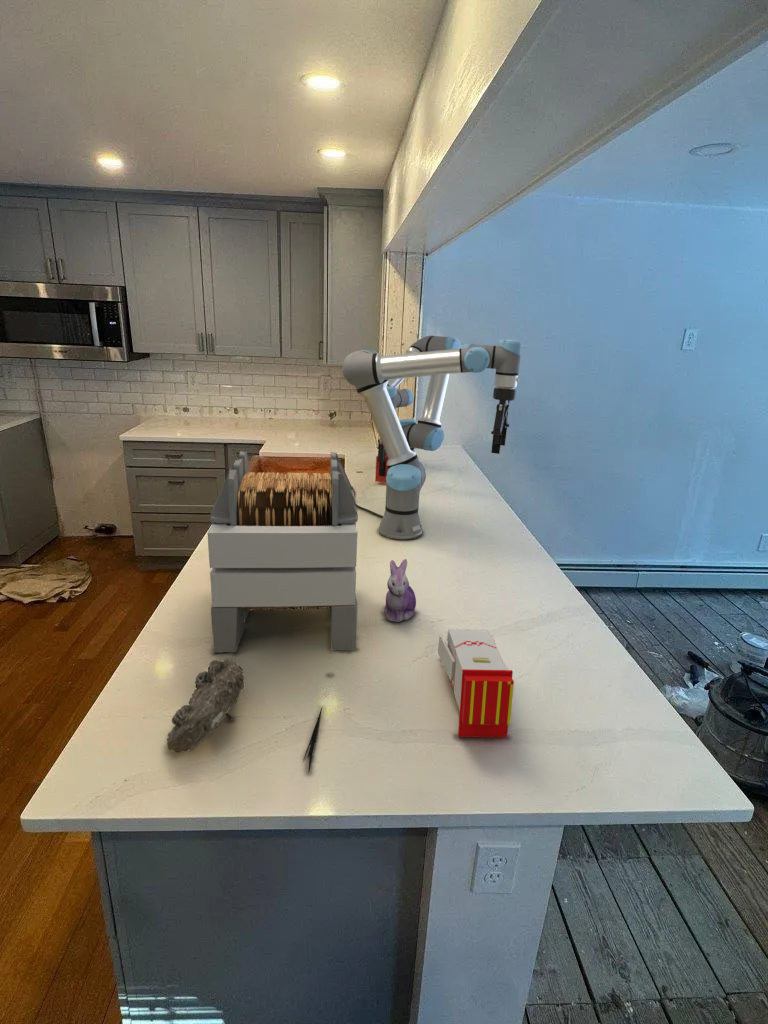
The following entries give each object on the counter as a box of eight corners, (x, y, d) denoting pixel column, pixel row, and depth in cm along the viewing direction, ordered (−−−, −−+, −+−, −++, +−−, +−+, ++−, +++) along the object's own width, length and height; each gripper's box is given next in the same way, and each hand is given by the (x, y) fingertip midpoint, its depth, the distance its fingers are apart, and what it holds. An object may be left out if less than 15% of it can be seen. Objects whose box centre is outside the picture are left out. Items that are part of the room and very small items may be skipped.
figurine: (392, 627, 141) (395, 572, 136) (374, 608, 149) (376, 556, 144) (425, 619, 145) (429, 566, 140) (405, 601, 154) (408, 550, 149)
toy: (488, 613, 130) (523, 677, 101) (484, 667, 133) (517, 744, 104) (435, 612, 130) (455, 676, 101) (432, 666, 133) (451, 743, 103)
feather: (331, 679, 122) (336, 673, 122) (307, 777, 96) (313, 769, 95) (324, 675, 122) (329, 669, 121) (298, 772, 95) (304, 764, 95)
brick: (389, 483, 252) (390, 458, 249) (375, 481, 254) (376, 456, 251) (392, 480, 257) (393, 455, 253) (378, 478, 259) (379, 454, 255)
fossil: (192, 660, 117) (244, 628, 112) (224, 691, 120) (276, 661, 115) (142, 746, 98) (202, 712, 93) (182, 779, 101) (242, 748, 96)
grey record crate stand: (232, 584, 158) (225, 442, 144) (349, 583, 162) (353, 444, 148) (211, 655, 127) (198, 480, 113) (357, 651, 130) (362, 482, 117)
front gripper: (511, 393, 179) (504, 458, 186) (520, 384, 202) (513, 443, 209) (488, 390, 181) (481, 455, 189) (499, 382, 204) (493, 440, 211)
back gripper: (388, 427, 238) (385, 480, 246) (400, 420, 253) (398, 470, 261) (371, 425, 240) (369, 478, 248) (384, 418, 256) (382, 468, 264)
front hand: (498, 449), depth 199 cm, fingers open, 13 cm apart
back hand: (384, 474), depth 255 cm, fingers closed on brick, 5 cm apart
